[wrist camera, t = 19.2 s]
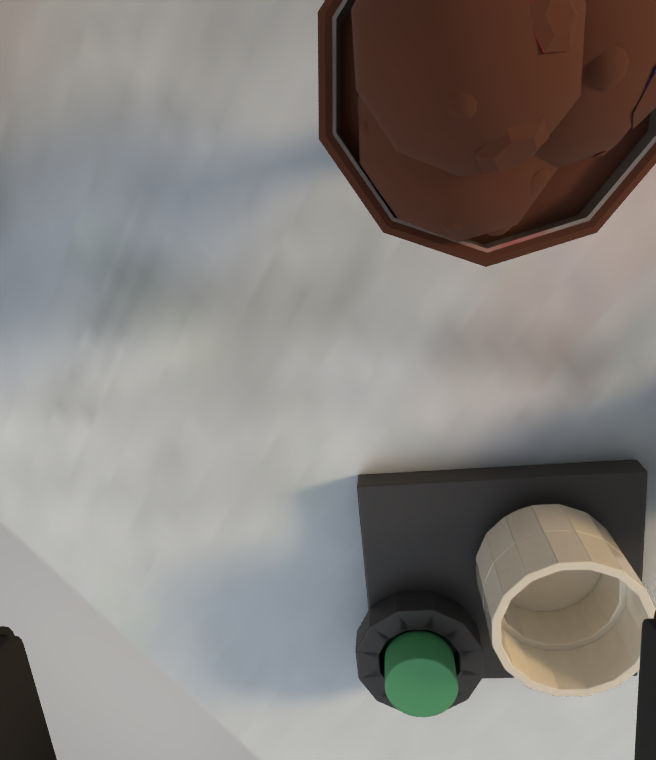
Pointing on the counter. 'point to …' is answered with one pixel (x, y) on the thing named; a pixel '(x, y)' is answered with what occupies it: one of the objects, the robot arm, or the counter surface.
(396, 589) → the scale
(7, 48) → the counter surface
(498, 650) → the cream cup
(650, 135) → the ice cream bowl
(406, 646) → the button
